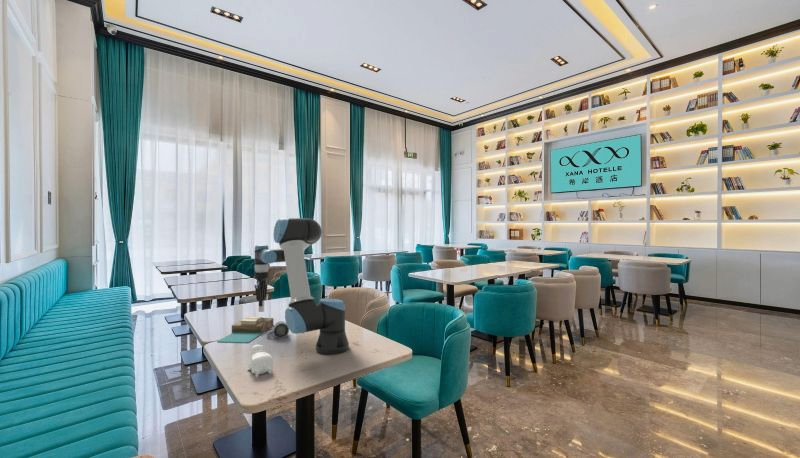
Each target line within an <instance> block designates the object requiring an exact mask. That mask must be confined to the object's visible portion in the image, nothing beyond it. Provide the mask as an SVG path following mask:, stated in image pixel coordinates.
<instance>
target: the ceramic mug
mask: <svg viewBox="0 0 800 458" xmlns="http://www.w3.org/2000/svg"><path fill="white" fill-rule="evenodd" d="M289 331H290V330H289V328H288V326H287V324H286V321H282V320H280V321H277V322H276V323H275V324H274V325H273V328H272V331H270V332H268V333H267V334H266V337H267V339H270V338H273V337H275V338H276V339H285V338H286V337H287V336H288V335H289Z"/></svg>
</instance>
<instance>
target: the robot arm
mask: <svg viewBox="0 0 800 458" xmlns="http://www.w3.org/2000/svg"><path fill="white" fill-rule="evenodd" d="M322 233H323V231H322V226H321V225H320V224H319V223H318V221H316V220H314V219H313V218H308V217H307V218H306V217H304V218H303V217H302V218H299V217H286V218H285V217H281V218H278V219H277V220H276V222H275V223H274V227H273V241H274V243H277V244H279V248H277V249H273V248H272V249H269V245H267V244H257V245H255V246H254V266H253V268H254V279H256V284H254V288H255V298H256V301H258V312H259V313H264V312H265V301H266V300H267V296H268V295H267V294H268V293H267V291H268V285H269V281H267V279H268V278H269V264H273V263H285V268H286V274H287V280H288V289H289V296H290V301H289V303H288V304H287V305H288V307H287V308H286V309H285V311H284V319H285V323H286V324H287V326H288V328H289V331H290V332H291V333H292V334H296V335H297V334H305V333H308V332H309V333H310V332H313V331H318V330H319V334H318V337H317V340H316V344H315V352H317V353H319V354H321V355H338V354H343V353H345V352H347V351H348V350H349V348H350V345H349V344H350V343H349V340H348V337H347V334H346V303H345V301H344V300H341V299H336V298H328V297H327V298H321V299H320V300H319V302H318V303H316V299H315V298H314V297H313V296H312V294H311V290H310V289H311V288H310V284H309V283H310V282H309V280H308V273H307V272H308V271H307V265H306V259H305V255H304V251H305V250H306V249H307V248H309V246H311V245H314V244H317V242H319V240H320V239H321V237H322Z"/></svg>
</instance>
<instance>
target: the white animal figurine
mask: <svg viewBox="0 0 800 458" xmlns="http://www.w3.org/2000/svg"><path fill="white" fill-rule="evenodd" d="M250 355H251V357H250V364H249V365H248V366H247V371H250V370H251V373H252V374H255V378H259V375H264V374H265V373H268V375H272V374H273V368H274V361H273V360H274V359H273V357H272V355H271V354H270V353H268V352H266V351H265V347H264V345H263V344H255V345H253V346H252V347H251V350H250Z"/></svg>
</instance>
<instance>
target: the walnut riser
mask: <svg viewBox="0 0 800 458" xmlns="http://www.w3.org/2000/svg"><path fill="white" fill-rule="evenodd" d="M274 320H275V319H274V317H262V321H261V322H259V323H257V324H256V325H242V324H241V320H239V321H238V322H235V323H234V324H232V325H231V333H233V332H242V333H262V334H263V332H265V331H267V330H268V329H270V328H271V327H272V326H273V327H274V325H275V324H274Z"/></svg>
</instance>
